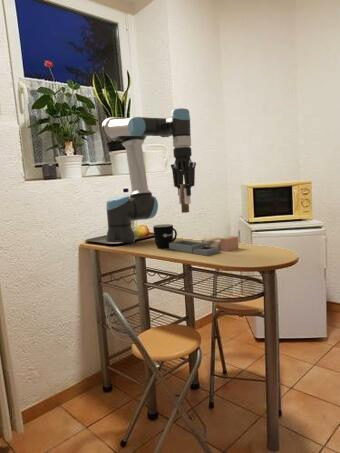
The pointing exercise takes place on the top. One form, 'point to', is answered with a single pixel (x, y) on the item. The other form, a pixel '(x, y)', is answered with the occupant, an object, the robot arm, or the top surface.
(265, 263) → the top surface
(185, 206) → the dowel
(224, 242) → the block
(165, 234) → the mug
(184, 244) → the tray
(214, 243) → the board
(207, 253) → the socket
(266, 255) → the top surface
